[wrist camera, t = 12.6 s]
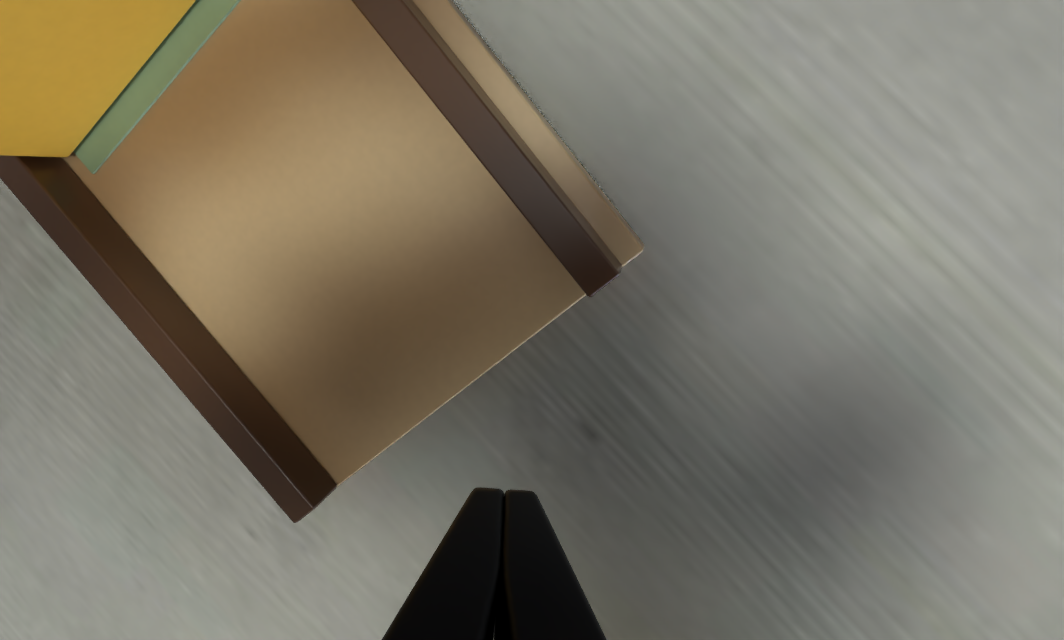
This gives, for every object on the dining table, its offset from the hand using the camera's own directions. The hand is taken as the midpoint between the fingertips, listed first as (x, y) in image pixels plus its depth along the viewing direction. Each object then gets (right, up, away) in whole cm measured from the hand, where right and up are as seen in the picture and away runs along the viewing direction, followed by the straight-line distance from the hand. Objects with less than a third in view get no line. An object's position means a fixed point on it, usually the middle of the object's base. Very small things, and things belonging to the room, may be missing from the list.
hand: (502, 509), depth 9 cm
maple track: (-8, +9, +11) cm, 16 cm away
